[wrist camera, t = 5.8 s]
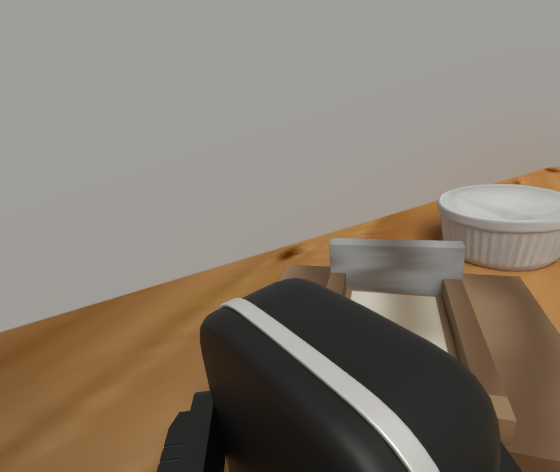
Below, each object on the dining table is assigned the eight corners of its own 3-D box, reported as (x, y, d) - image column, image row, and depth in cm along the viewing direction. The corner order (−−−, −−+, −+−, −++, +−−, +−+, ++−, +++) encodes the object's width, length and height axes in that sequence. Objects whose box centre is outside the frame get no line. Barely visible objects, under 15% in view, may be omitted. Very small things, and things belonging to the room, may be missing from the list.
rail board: (219, 409, 18) (200, 337, 16) (288, 275, 31) (283, 226, 29) (651, 500, 13) (705, 406, 11) (516, 289, 26) (529, 229, 24)
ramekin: (418, 260, 32) (422, 209, 30) (450, 222, 39) (455, 180, 37) (567, 293, 25) (585, 230, 23) (572, 239, 32) (586, 188, 30)
